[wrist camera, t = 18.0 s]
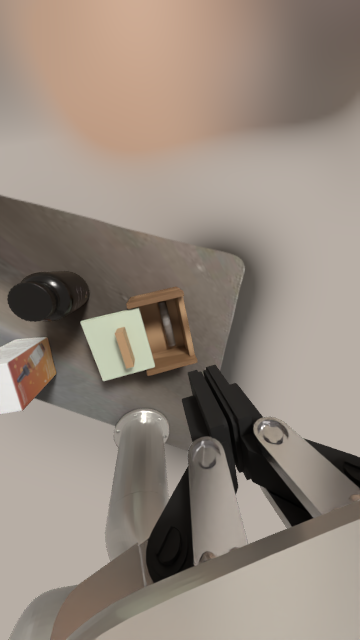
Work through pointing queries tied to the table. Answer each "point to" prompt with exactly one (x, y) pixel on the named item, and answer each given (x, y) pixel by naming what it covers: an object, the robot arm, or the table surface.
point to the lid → (119, 343)
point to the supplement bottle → (48, 296)
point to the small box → (24, 372)
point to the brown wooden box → (165, 328)
